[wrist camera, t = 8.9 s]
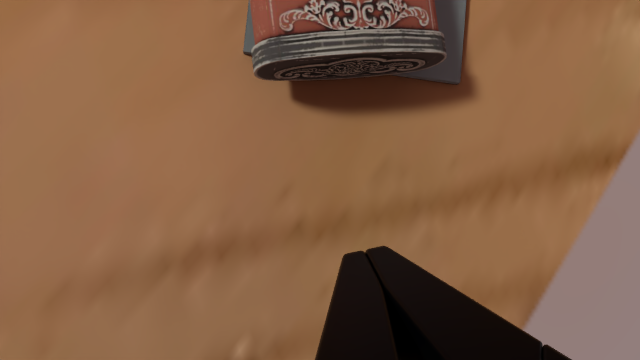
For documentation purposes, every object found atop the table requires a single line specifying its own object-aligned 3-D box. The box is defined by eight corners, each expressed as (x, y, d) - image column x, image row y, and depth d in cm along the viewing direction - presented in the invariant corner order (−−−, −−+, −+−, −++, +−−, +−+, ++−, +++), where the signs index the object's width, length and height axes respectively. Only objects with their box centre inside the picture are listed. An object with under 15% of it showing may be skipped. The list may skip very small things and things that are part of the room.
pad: (457, 84, 20) (460, 82, 20) (243, 53, 19) (243, 51, 19) (466, -38, 21) (469, -41, 20) (257, -77, 19) (257, -81, 19)
